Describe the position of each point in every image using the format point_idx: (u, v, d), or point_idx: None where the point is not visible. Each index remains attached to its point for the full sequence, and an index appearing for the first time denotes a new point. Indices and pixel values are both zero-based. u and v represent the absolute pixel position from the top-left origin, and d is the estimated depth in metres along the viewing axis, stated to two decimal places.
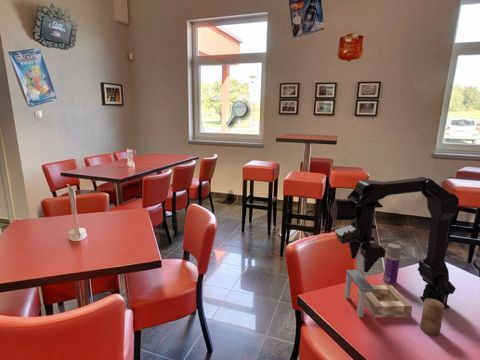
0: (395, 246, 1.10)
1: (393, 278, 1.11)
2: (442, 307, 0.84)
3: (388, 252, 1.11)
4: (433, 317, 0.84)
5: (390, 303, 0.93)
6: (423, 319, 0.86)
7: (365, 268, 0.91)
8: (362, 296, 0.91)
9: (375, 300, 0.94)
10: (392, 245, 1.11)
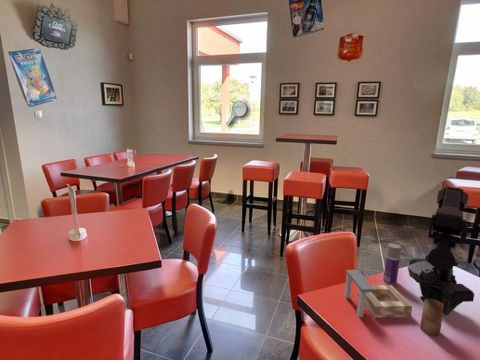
0: (395, 246, 1.10)
1: (393, 278, 1.11)
2: (442, 307, 0.84)
3: (388, 252, 1.11)
4: (433, 317, 0.84)
5: (390, 303, 0.93)
6: (423, 319, 0.86)
7: (446, 311, 0.80)
8: (362, 296, 0.91)
9: (375, 300, 0.94)
10: (392, 245, 1.11)
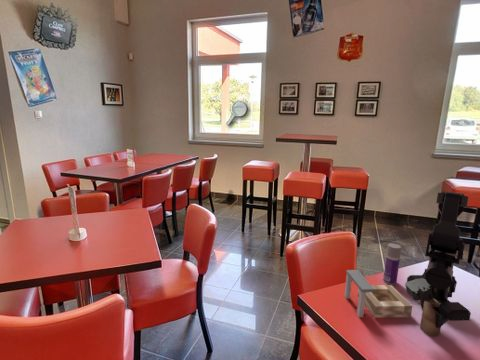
0: (395, 246, 1.10)
1: (393, 278, 1.11)
2: None
3: (388, 252, 1.11)
4: (433, 317, 0.84)
5: (390, 303, 0.93)
6: (423, 319, 0.86)
7: (438, 324, 0.83)
8: (362, 296, 0.91)
9: (375, 300, 0.94)
10: (392, 245, 1.11)
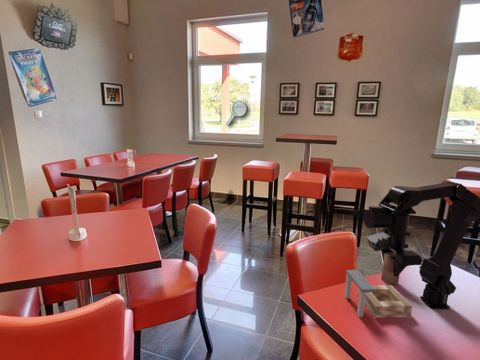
0: None
1: None
2: None
3: None
4: (392, 267, 0.92)
5: (390, 303, 0.93)
6: (383, 270, 0.94)
7: (395, 272, 0.91)
8: (362, 296, 0.91)
9: (375, 300, 0.94)
10: None
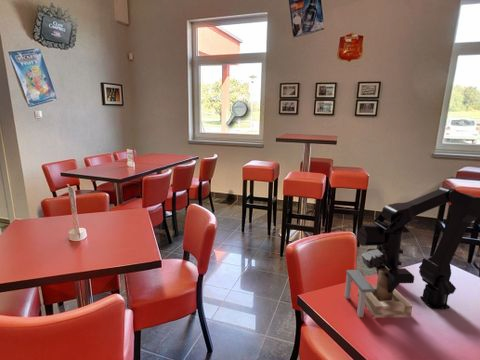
0: None
1: None
2: None
3: None
4: (385, 283, 0.94)
5: (390, 303, 0.93)
6: (377, 286, 0.97)
7: (389, 289, 0.94)
8: (362, 296, 0.91)
9: (375, 300, 0.94)
10: None
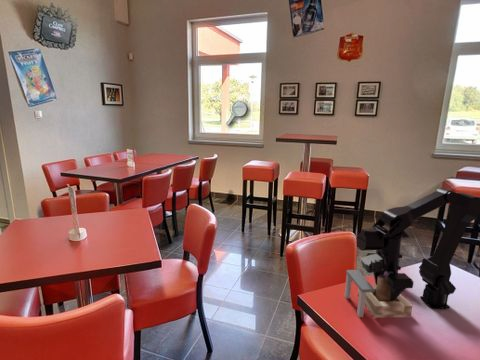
0: None
1: None
2: None
3: None
4: (384, 290, 0.95)
5: (390, 303, 0.93)
6: (376, 292, 0.97)
7: (392, 297, 0.92)
8: (362, 296, 0.91)
9: (375, 300, 0.94)
10: None
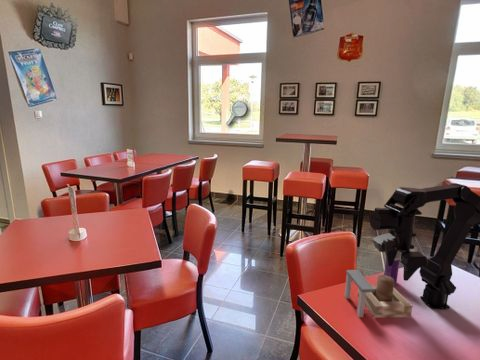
0: None
1: (393, 278, 1.11)
2: (392, 281, 0.95)
3: None
4: (384, 291, 0.95)
5: (390, 303, 0.93)
6: (376, 292, 0.97)
7: (405, 277, 0.90)
8: (362, 296, 0.91)
9: (375, 300, 0.94)
10: None
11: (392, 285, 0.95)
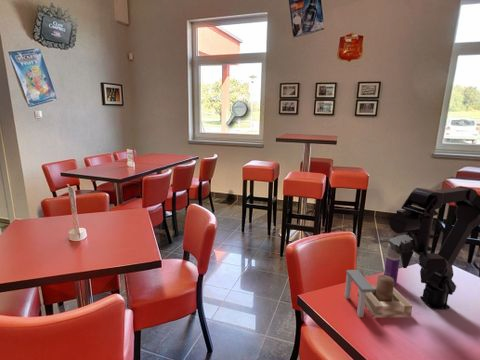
0: None
1: (393, 278, 1.11)
2: (392, 281, 0.95)
3: (388, 252, 1.11)
4: (384, 290, 0.95)
5: (390, 303, 0.93)
6: (376, 293, 0.97)
7: (423, 279, 0.88)
8: (362, 296, 0.91)
9: (375, 300, 0.94)
10: None
11: (392, 285, 0.95)
